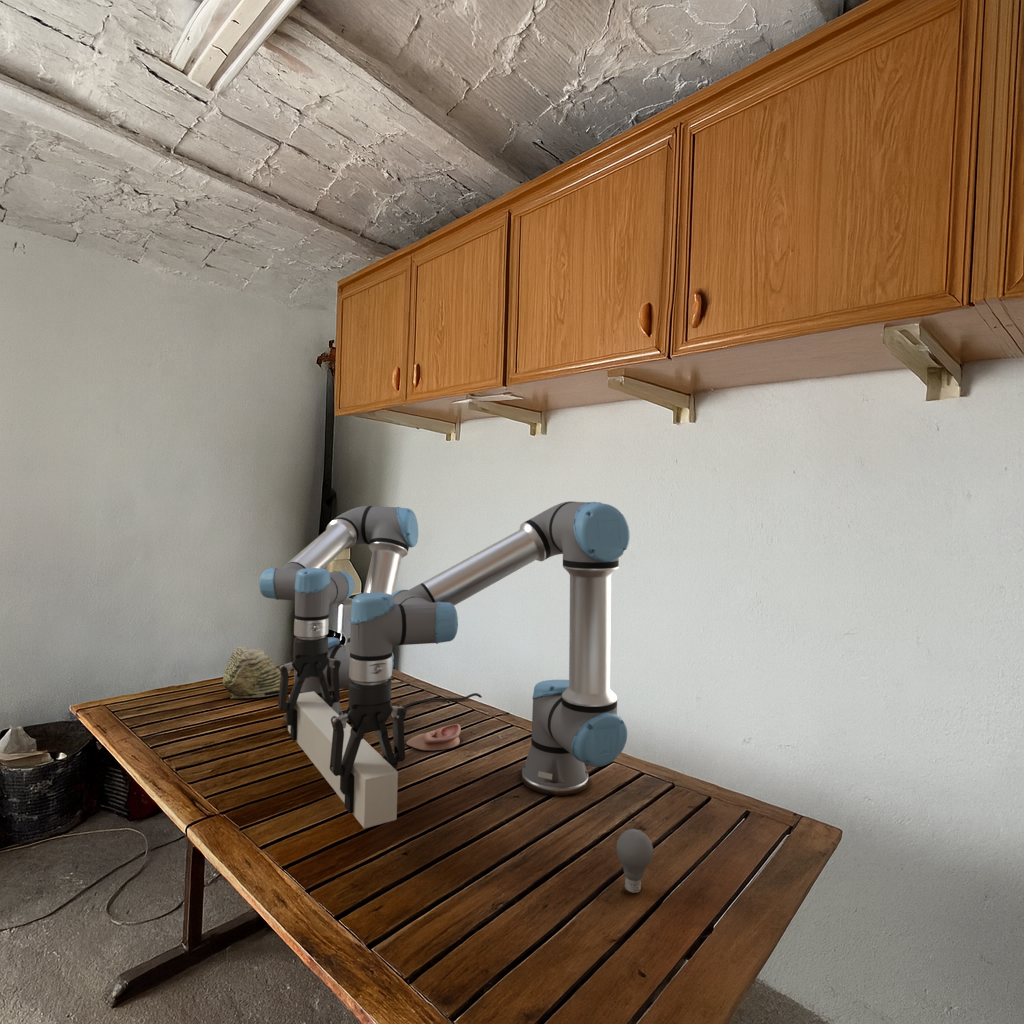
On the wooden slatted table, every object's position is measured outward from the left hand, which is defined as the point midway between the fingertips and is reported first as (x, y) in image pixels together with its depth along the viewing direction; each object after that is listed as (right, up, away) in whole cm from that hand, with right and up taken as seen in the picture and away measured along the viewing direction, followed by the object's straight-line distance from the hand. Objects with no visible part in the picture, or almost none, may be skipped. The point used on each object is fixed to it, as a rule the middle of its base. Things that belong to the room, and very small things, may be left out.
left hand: (308, 735), depth 146 cm
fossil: (-34, -6, +52) cm, 62 cm away
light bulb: (+67, -12, -40) cm, 79 cm away
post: (+10, -1, -15) cm, 19 cm away
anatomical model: (+26, -9, +19) cm, 34 cm away
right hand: (+21, -2, -31) cm, 37 cm away
